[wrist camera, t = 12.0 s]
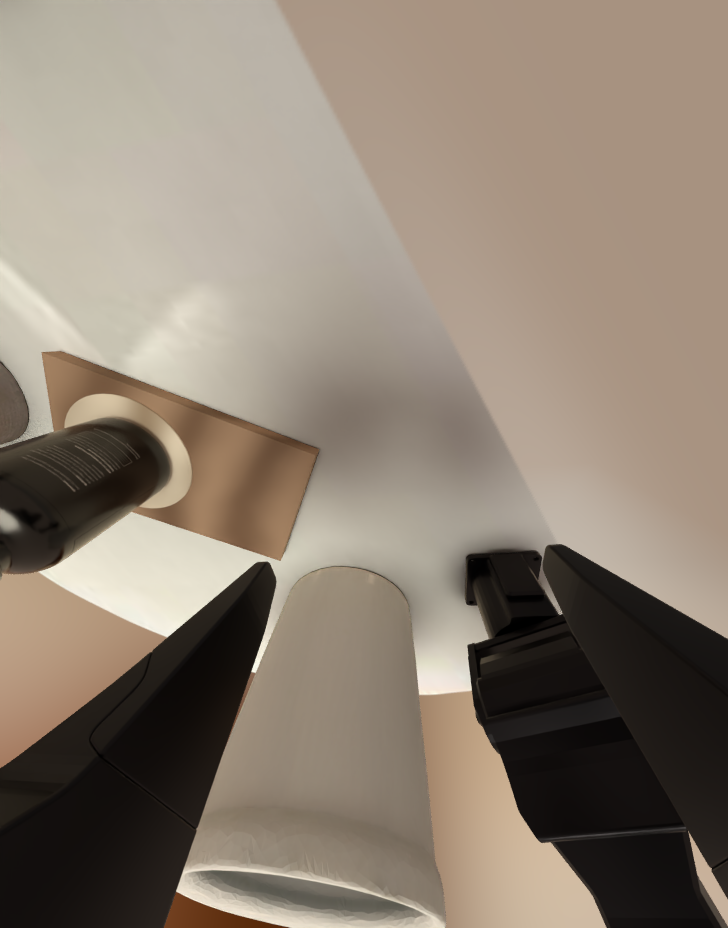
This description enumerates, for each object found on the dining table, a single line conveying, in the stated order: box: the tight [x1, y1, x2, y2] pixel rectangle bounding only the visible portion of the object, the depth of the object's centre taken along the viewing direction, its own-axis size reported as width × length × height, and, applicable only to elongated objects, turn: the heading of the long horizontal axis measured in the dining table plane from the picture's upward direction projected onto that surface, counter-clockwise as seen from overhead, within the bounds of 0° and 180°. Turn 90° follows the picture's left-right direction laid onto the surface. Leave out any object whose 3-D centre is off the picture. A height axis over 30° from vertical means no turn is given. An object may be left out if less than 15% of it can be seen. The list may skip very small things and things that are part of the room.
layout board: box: [42, 351, 319, 561], centre depth 22 cm, size 20×12×1 cm, turn 69°
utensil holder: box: [176, 567, 446, 928], centre depth 22 cm, size 15×15×18 cm
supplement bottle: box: [0, 418, 170, 580], centre depth 16 cm, size 7×7×12 cm
